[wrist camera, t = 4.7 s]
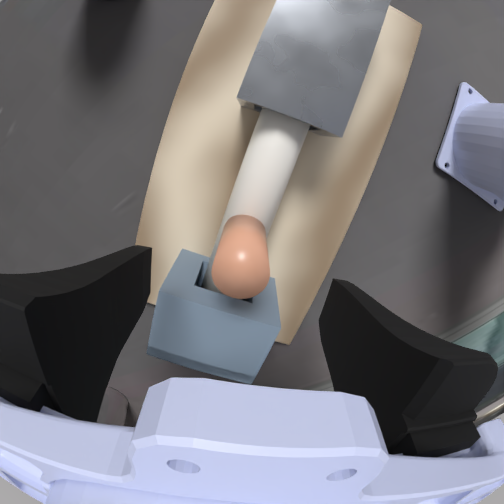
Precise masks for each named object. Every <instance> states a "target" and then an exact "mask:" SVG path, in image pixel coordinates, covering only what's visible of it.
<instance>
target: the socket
mask: <svg viewBox="0 0 504 504" xmlns="http://www.w3.org/2000/svg"><path fill="white" fill-rule="evenodd" d="M209 260H210V257H207V256H204V255H201V254H198V253H195V252H191V251H188V250H185V249H182V250H181V252H180V253H179V255H178V257H177V259H176V260H175V262H174V264H173V266H172V268H171V269H170V271H169V273H168V275H167V277H166V279H165V280H164V282H163V284H162V286H161V288H160V290H159V293H158V297H157V302H156V307H155V312H154V316H153V321H152V327H151V332H150V337H149V343H148V348H147V354H148V355H151V356H154V357H157V358H160V359H163V360H166V361H169V362H172V363H175V364H178V365H181V366H185V367H188V368H191V369H195V370H198V371H202V372H205V373H209V374H212V375H216V376H220V377H224V378H227V379H231V380H235V381H239V382H244V383H248V384H252V382H253V381H254V379H255V377H256V375H257V373H258V371H259V370H260V368H261V366H262V364H263V362H264V360H265V358H266V356H267V355H268V353H269V351H270V349H271V347H272V345H273V343H274V341H275V339H276V337H277V335H278V333H279V331H280V330H281V322H280V314H279V306H278V298H277V291H276V283H275V278H272V277H270V279H269V282H268V284H267V286H266V287H265V289H264V290H263V291H262V292H261V293H259V294H258V295H256V296H254V297H251V298H247V299H242V300H239V299H236V298H232V297H229V296H226V295H223V294H220V293H217V292H214V291H210V290H207V289H204V288H201V285H202V282H203V279H204V275H205V272H206V269H207V266H208V263H209Z"/></svg>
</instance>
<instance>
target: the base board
mask: <svg viewBox="0 0 504 504" xmlns="http://www.w3.org/2000/svg"><path fill="white" fill-rule="evenodd" d="M276 1H277V0H215V1H214V3H213V5H212V7H211V9H210V12H209V14H208V16H207V18H206V20H205V22H204V25H203V27H202V29H201V31H200V34H199V36H198V38H197V41H196V43H195V45H194V48H193V50H192V53H191V55H190V58H189V60H188V63H187V65H186V68H185V71H184V73H183V76H182V79H181V81H180V84H179V87H178V90H177V92H176V95H175V98H174V101H173V104H172V107H171V110H170V113H169V116H168V119H167V122H166V125H165V128H164V132H163V135H162V138H161V142H160V145H159V148H158V152H157V155H156V159H155V163H154V166H153V170H152V174H151V178H150V181H149V185H148V189H147V193H146V198H145V202H144V206H143V210H142V215H141V220H140V224H139V229H138V234H137V239H136V244H135V245H141V246H146V247H152V262H151V293H150V295H149V298H148V301H147V302H148V303H151V304H154V305H156V302H157V297H158V293H159V290H160V288H161V286H162V284H163V282H164V280H165V279H166V277H167V275H168V273H169V271H170V269H171V268H172V266H173V264H174V262H175V260H176V259H177V257H178V255H179V253H180V252H181V250H182V249H185V250H188V251H191V252H195V253H198V254H201V255H204V256H207V257H210V256H211V253H212V250H213V247H214V244H215V241H216V238H217V235H218V232H219V229H220V226H221V223H222V220H223V217H224V214H225V211H226V208H227V205H228V202H229V199H230V196H231V193H232V190H233V187H234V184H235V182H236V179H237V176H238V173H239V170H240V167H241V164H242V162H243V159H244V156H245V153H246V150H247V148H248V145H249V142H250V139H251V137H252V134H253V131H254V128H255V126H256V123H257V120H258V118H259V115H260V112H257V111H254V110H251V109H248V108H244V107H241V106H240V104H239V102H238V100H237V98H236V97H237V95H238V92H239V89H240V87H241V84H242V82H243V79H244V76H245V74H246V71H247V69H248V66H249V64H250V61H251V59H252V56H253V54H254V51H255V49H256V47H257V44H258V42H259V39H260V37H261V35H262V32H263V30H264V28H265V25H266V23H267V21H268V18H269V16H270V14H271V12H272V9H273V7H274V5H275V3H276ZM421 28H422V24H420V23H419V22H417V21H415V20H414V19H412V18H411V17H409V16H407V15H406V14H404V13H402V12H401V11H399V10H397V9H395V8H394V7H392V6H390V5H389V7H388V10H387V13H386V16H385V19H384V23H383V26H382V29H381V32H380V35H379V38H378V41H377V44H376V46H375V49H374V52H373V55H372V58H371V61H370V64H369V67H368V69H367V72H366V75H365V78H364V81H363V83H362V86H361V89H360V92H359V94H358V97H357V100H356V103H355V105H354V108H353V111H352V113H351V116H350V119H349V121H348V124H347V126H346V129H345V132H344V134H343V137H342V138H340V137H330V136H320V135H318V134H315V133H313V132H310V131H308V132H307V135H306V138H305V140H304V143H303V145H302V148H301V151H300V153H299V156H298V158H297V161H296V164H295V166H294V169H293V171H292V174H291V176H290V179H289V182H288V184H287V187H286V189H285V192H284V195H283V197H282V200H281V202H280V205H279V207H278V210H277V212H276V215H275V218H274V220H273V223H272V225H271V228H270V230H269V233H268V235H267V238H266V239H267V248H268V257H269V267H270V277H272V278H275V283H276V291H277V298H278V306H279V314H280V322H281V330H280V331H279V333H278V335H277V337H276V339H275V341H276V342H280V343H284V344H288V345H290V343H291V341H292V339H293V337H294V336H295V334H296V332H297V330H298V328H299V326H300V325H301V323H302V321H303V319H304V317H305V315H306V313H307V311H308V310H309V308H310V306H311V304H312V302H313V300H314V298H315V296H316V294H317V292H318V290H319V288H320V286H321V284H322V282H323V280H324V278H325V276H326V274H327V272H328V270H329V268H330V266H331V264H332V262H333V260H334V258H335V256H336V253H337V251H338V249H339V247H340V245H341V243H342V241H343V239H344V236H345V234H346V232H347V230H348V228H349V225H350V223H351V221H352V219H353V217H354V214H355V212H356V210H357V207H358V205H359V203H360V201H361V198H362V196H363V194H364V191H365V189H366V186H367V184H368V182H369V179H370V177H371V174H372V172H373V169H374V167H375V165H376V162H377V160H378V157H379V154H380V152H381V149H382V147H383V144H384V142H385V139H386V136H387V134H388V131H389V128H390V125H391V123H392V120H393V117H394V114H395V112H396V109H397V106H398V103H399V100H400V97H401V94H402V91H403V88H404V85H405V82H406V79H407V76H408V73H409V70H410V66H411V63H412V60H413V57H414V53H415V50H416V46H417V43H418V39H419V36H420V32H421Z"/></svg>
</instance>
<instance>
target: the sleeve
mask: <svg viewBox="0 0 504 504" xmlns="http://www.w3.org/2000/svg"><path fill="white" fill-rule="evenodd" d="M390 1H391V0H277V1H276V3H275V5H274V7H273V9H272V12H271V14H270V16H269V18H268V21H267V23H266V25H265V28H264V30H263V32H262V35H261V37H260V39H259V42H258V44H257V47H256V49H255V51H254V54H253V56H252V59H251V61H250V64H249V66H248V69H247V71H246V74H245V76H244V79H243V82H242V84H241V87H240V89H239V92H238V95H237V97H236V98H237V100H238V102H239V104H240V106H241V107H244V108H248V109H251V110H254V111H257V112H261V110H262V107H263V108H265V109H268V110H271V111H274V112H277V113H280V114H282V115H285V116H288V117H290V118H293V119H296V120H298V121H301V122H303V123H306V124H308V125H310V127H309V130H308V131H310V132H313V133H315V134H318V135H320V136H330V137H340V138H342V137H343V134H344V132H345V129H346V126H347V124H348V121H349V119H350V116H351V113H352V111H353V108H354V105H355V103H356V100H357V97H358V94H359V92H360V89H361V86H362V83H363V81H364V78H365V75H366V72H367V69H368V67H369V64H370V61H371V58H372V55H373V52H374V49H375V46H376V44H377V41H378V38H379V35H380V32H381V29H382V26H383V23H384V19H385V16H386V13H387V10H388V7H389V4H390Z"/></svg>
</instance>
